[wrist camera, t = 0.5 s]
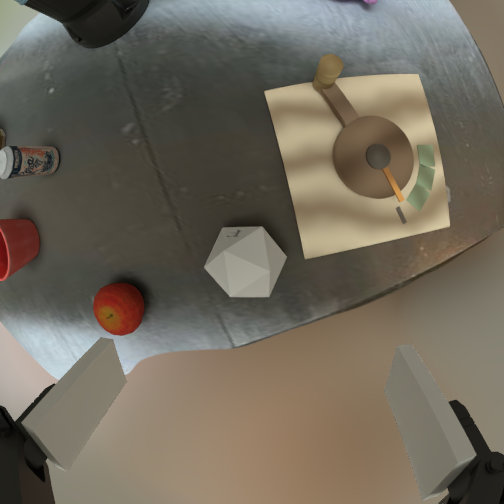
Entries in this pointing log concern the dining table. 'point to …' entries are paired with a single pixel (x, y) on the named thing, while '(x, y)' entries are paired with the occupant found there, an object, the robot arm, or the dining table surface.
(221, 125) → the dining table surface
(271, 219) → the dining table surface
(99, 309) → the apple
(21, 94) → the dining table surface
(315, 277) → the dining table surface
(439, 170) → the board
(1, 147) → the ceramic cup
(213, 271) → the die
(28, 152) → the beer can
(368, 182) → the dial
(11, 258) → the flower pot
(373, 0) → the teapot
